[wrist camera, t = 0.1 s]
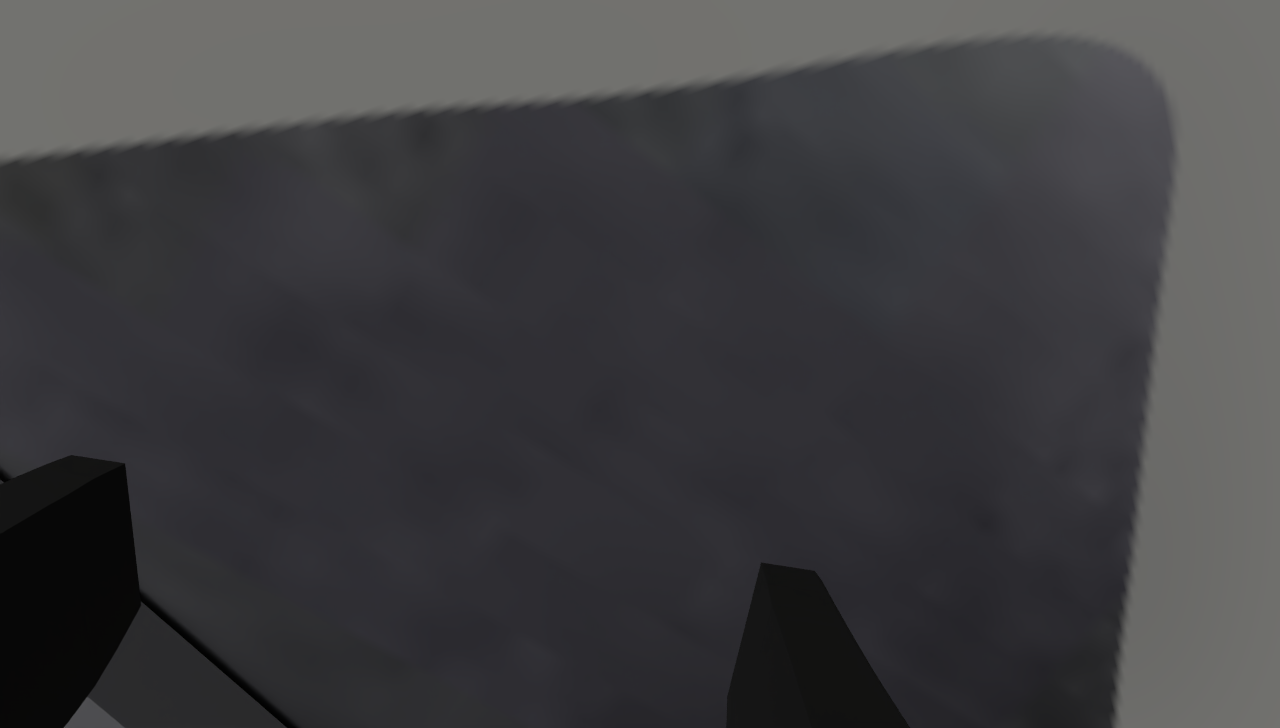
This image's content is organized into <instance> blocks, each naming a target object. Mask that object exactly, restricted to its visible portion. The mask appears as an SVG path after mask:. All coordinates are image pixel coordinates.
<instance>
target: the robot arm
mask: <svg viewBox="0 0 1280 728" xmlns="http://www.w3.org/2000/svg"><path fill="white" fill-rule="evenodd" d="M140 607H141V599H140V590H139V582H138V573H137V564H136V555H135V547H134V538H133V529H132V520H131V512H130V503H129V494H128V485H127V477H126V468H125V463H118V462H112V461H106V460H99V459H93V458H86V457H80V456H73V455H70V456H68V457H65V458H62V459H59V460H57V461H54V462H51V463H49V464H46V465H44V466H41V467H39V468H37V469H34V470H32V471H30V472H27V473H25V474H23V475H20V476H18V477H16V478H13V479H11V480H9V481H7V482H4V483H2V484H0V728H64V727H65V726H66V725H67V723H68V722H69V721H70V719H71V718H72V717H73V715H74V714H75V713H76V711H77V710H78V709H79V707H80V706H81V705H82V703H83V702H84V700H85V699H86V698H87V696H88V695H89V694H90V692H91V691H92V690H93V688H94V687H95V685H96V684H97V682H98V680H99V679H100V677H101V675H102V674H103V672H104V670H105V669H106V667H107V665H108V664H109V662H110V660H111V659H112V657H113V655H114V654H115V652H116V650H117V649H118V647H119V645H120V643H121V641H122V640H123V638H124V636H125V634H126V632H127V631H128V629H129V627H130V625H131V623H132V621H133V620H134V618H135V616H136V614H137V612H138V611H139V609H140ZM726 728H910V727H909V726H908V724H907V722H906V721H905V719H904V718H903V716H902V715H901V713H900V712H899V710H898V709H897V707H896V705H895V704H894V702H893V701H892V699H891V698H890V696H889V695H888V693H887V691H886V690H885V688H884V687H883V685H882V684H881V682H880V681H879V679H878V677H877V676H876V674H875V672H874V671H873V669H872V667H871V666H870V664H869V663H868V661H867V659H866V658H865V656H864V654H863V652H862V651H861V649H860V647H859V646H858V644H857V642H856V641H855V639H854V637H853V635H852V634H851V632H850V630H849V628H848V627H847V625H846V623H845V621H844V620H843V618H842V616H841V614H840V613H839V611H838V609H837V607H836V605H835V604H834V602H833V600H832V598H831V596H830V595H829V593H828V591H827V589H826V587H825V586H824V584H823V582H822V580H821V579H820V578H819V576H818V575H817V573H816V572H815V571H812V570H805V569H799V568H792V567H786V566H779V565H773V564H767V563H761V566H760V569H759V573H758V577H757V581H756V585H755V589H754V593H753V597H752V601H751V605H750V609H749V613H748V617H747V621H746V625H745V629H744V633H743V637H742V641H741V645H740V649H739V653H738V657H737V661H736V665H735V669H734V673H733V677H732V681H731V685H730V689H729V692H728V698H727V724H726Z"/></svg>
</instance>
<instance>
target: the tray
mask: <svg viewBox="0 0 1280 728" xmlns="http://www.w3.org/2000/svg"><path fill="white" fill-rule="evenodd" d="M2 483H4V482H3V481H1V480H0V484H2ZM64 728H287V727H285V726H284V725H283V724H282V723H281V722H280V721H278V720H277V719H276V718H275V717H274V716H273V715H272V714H270V713H269V712H268V711H267V710H266V709H265V708H263V707H262V706H261V705H260V704H259V703H258V702H257V701H255V700H254V699H253V698H252V697H251V696H250V695H248V694H247V693H246V692H245V691H244V690H243V689H242V688H240V687H239V686H238V685H237V684H236V683H235V682H233V681H232V680H231V679H230V678H229V677H228V676H227V675H225V674H224V673H223V672H222V671H221V670H220V669H218V668H217V667H216V666H215V665H214V664H213V663H212V662H210V661H209V660H208V659H207V658H206V657H205V656H203V655H202V654H201V653H200V652H199V651H198V650H197V649H195V648H194V647H193V646H192V645H191V644H190V643H188V642H187V641H186V640H185V639H184V638H183V637H181V636H180V635H179V634H178V633H177V632H176V631H175V630H173V629H172V628H171V627H170V626H169V625H168V624H166V623H165V622H164V621H163V620H162V619H161V618H160V617H158V616H157V615H156V614H155V613H154V612H153V611H151V610H150V609H149V608H148V607H147V606H146V605H145V604H143V603H142V602H141V607H140V609H139V611H138V612H137V614H136V616H135V618H134V620H133V621H132V623H131V625H130V627H129V629H128V631H127V632H126V634H125V636H124V638H123V640H122V641H121V643H120V645H119V647H118V649H117V650H116V652H115V654H114V655H113V657H112V659H111V660H110V662H109V664H108V665H107V667H106V669H105V670H104V672H103V674H102V675H101V677H100V679H99V680H98V682H97V684H96V685H95V687H94V688H93V690H92V691H91V692H90V694H89V695H88V696H87V698H86V699H85V700H84V702H83V703H82V705H81V706H80V707H79V709H78V710H77V711H76V713H75V714H74V715H73V717H72V718H71V719H70V721H69V722H68V723H67V725H66V726H65V727H64Z"/></svg>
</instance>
